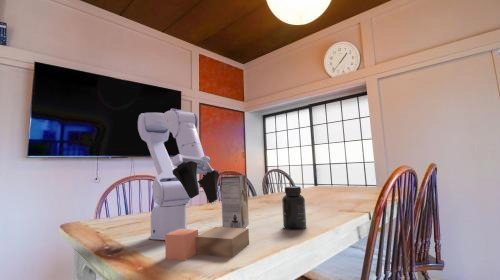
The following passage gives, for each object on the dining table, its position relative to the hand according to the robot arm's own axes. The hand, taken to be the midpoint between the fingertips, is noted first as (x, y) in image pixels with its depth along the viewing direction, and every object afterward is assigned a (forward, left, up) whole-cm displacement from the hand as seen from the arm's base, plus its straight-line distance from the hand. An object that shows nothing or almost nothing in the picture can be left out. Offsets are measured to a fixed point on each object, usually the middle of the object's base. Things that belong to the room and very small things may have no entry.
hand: (204, 198), depth 56 cm
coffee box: (-4, +24, -12) cm, 27 cm away
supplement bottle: (+14, +27, -12) cm, 33 cm away
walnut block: (+3, +4, -12) cm, 13 cm away
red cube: (-5, -2, -12) cm, 13 cm away
